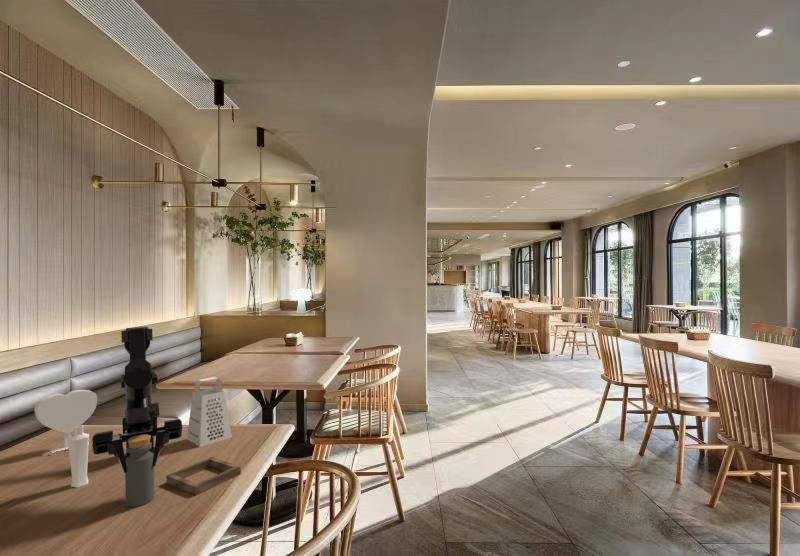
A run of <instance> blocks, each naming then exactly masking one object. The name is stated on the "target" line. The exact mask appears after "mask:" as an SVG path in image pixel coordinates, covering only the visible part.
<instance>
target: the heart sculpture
mask: <svg viewBox="0 0 800 556" xmlns="http://www.w3.org/2000/svg"><path fill="white" fill-rule="evenodd" d="M97 403H98V396H97V393H96V392H94V391H92V390H88V389H75V390H74V389H72V390H71V391H70V392H68V393H66V394H63V393H59V392H57V393H54V394H49V395H47V396H44V397H42V398H39V400H38V401H36V402H35V404H34V408H33V409H34V415H35V418H36V419H37V420H38V422H39V423H41V425H43V426H45V427H47V428H48V429H52V430H54V431H59V432H62V433H63V446H60V447H57V448H55V449H50V450H51V452H52V453H54V452H56V451H61V450H65V449H68V448H69V446H68V439H69V438H71V437H72V436H73V435H72V434H73V433H72V432H73V431H75V429H74V427H77V426H82V425H83V423H85V422H86V421H87V420H88V419H89V418H90V417H91V416H92V415H93V413H94V411H95V410H96V408H97Z"/></svg>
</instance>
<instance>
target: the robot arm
mask: <svg viewBox="0 0 800 556" xmlns="http://www.w3.org/2000/svg"><path fill="white" fill-rule="evenodd" d="M125 328H126V329H125V330H121V332H120V333H121V344H124V350H125V351H126V352H127V353H128V355H129V362H128V363H127V364H126V365H125V366H124V374H121V376H120V377H121V379H120V381H121V382H120V386H121V387H120V388H121V389H124V391H125V394H124V395H125V412H124V413H125V414H124V415H125V416H124V417H122V433H114V431H113V430H112V429H111V430H106V431H101V432H96V433H94V435H93V436H92V439H91V441H92V444H91V445H92V446H91V447H92V452H93V454H94V455H102V454H106V453H108V454H107V455H114V457H115V458H116V459H117V462H118V463H119V464H120V467H121V469H122V472H123V473H124V474H125V473H126V462H125V459H126V458H127V457H128V456H129V455H130V453H128V452H127V447H128V446H129V444H128V439H130V438H132V437H134V436H138V435H150V436H151V438H150V442H151V443H152V448H151V449H149V451H151V452H153V454H154V467H157V462H158V460H159V457H160V453H161V452H162V450H163V448H164V446H165V444H168V443H170V441H172V440H175V439H176V440H177V439H180V438H182V434H183V433H182V432H183V420H182V419H180V418H175V419H170V420H169V419H168V420H165V421H164V422H163V426H161V427H158V417H159V416H160V403H159V402H154V403H152V389H153V388H152V385H155V384H156V382H158V375H157V374H156V373H155V370H152V363H150V362H149V361H148V360H147V352H148V350H149V348H150V347H151V341H153V339H154V338H153V337H154V336H153V328H148V326H140V327H139V326H138V327H125ZM154 437H155V440H154ZM154 441H155V442H154ZM123 443H125V448H126V449H124V444H123ZM125 451H126V453H125Z"/></svg>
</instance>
